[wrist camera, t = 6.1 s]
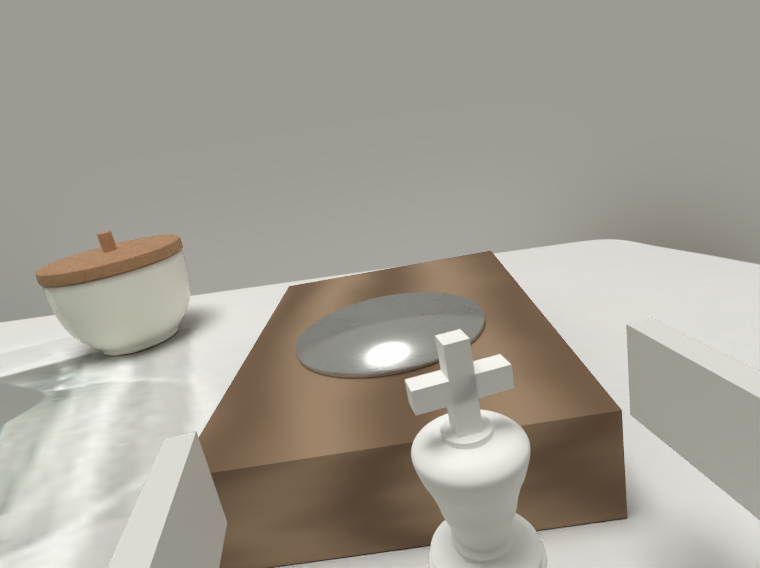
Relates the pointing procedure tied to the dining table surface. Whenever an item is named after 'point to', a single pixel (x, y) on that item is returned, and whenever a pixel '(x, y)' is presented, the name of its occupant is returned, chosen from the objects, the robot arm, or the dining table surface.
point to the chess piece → (472, 462)
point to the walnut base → (396, 415)
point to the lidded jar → (120, 292)
